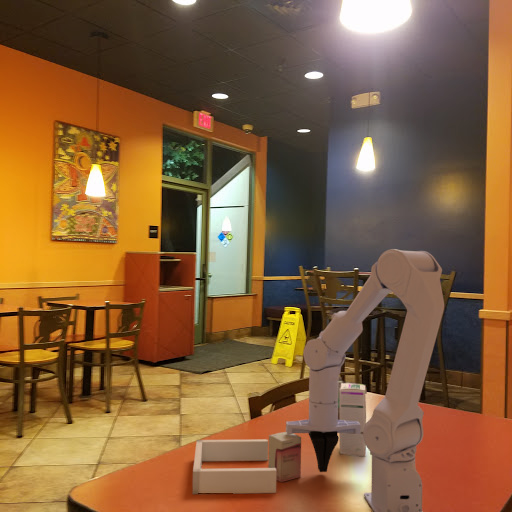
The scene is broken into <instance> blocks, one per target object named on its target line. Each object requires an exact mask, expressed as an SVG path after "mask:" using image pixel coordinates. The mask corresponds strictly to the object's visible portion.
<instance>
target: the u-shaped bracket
mask: <svg viewBox="0 0 512 512" xmlns="http://www.w3.org/2000/svg"><path fill="white" fill-rule="evenodd" d="M195 445H196V446H195V452H194V461H193V468H192V495H199V494H198V493H233V494H275V493H277V480H276V468H268V467H240V468H239V467H238V468H237V467H235V468H232V467H231V468H230V467H229V468H224V467H223V468H202V467H203V465H202V464H203V462H240V461H241V462H245V461H247V462H248V461H250V462H251V461H252V462H254V461H255V462H257V461H259V462H261V461H268V462H269V438H268V439H263V438H262V439H261V438H260V439H259V438H258V439H196V444H195ZM201 466H202V467H201Z"/></svg>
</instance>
